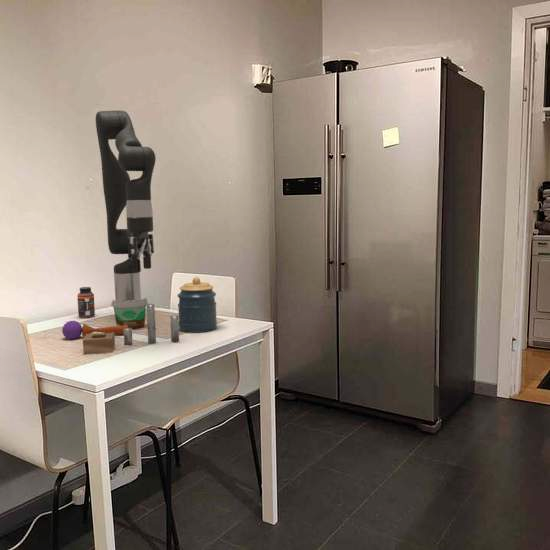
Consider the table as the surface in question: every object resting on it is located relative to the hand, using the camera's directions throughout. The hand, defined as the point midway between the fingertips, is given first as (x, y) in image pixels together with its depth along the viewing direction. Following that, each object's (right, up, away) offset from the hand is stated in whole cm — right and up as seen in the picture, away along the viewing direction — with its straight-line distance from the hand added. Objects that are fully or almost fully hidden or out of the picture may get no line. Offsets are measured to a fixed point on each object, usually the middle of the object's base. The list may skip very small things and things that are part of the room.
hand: (142, 270), depth 164 cm
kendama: (-18, -22, +14) cm, 31 cm away
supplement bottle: (-32, -18, +45) cm, 58 cm away
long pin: (+2, -22, +4) cm, 23 cm away
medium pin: (+9, -22, +6) cm, 24 cm away
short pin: (-5, -23, +3) cm, 23 cm away
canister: (+13, -20, +23) cm, 33 cm away
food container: (-9, -20, +24) cm, 33 cm away
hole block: (-12, -23, -2) cm, 26 cm away
